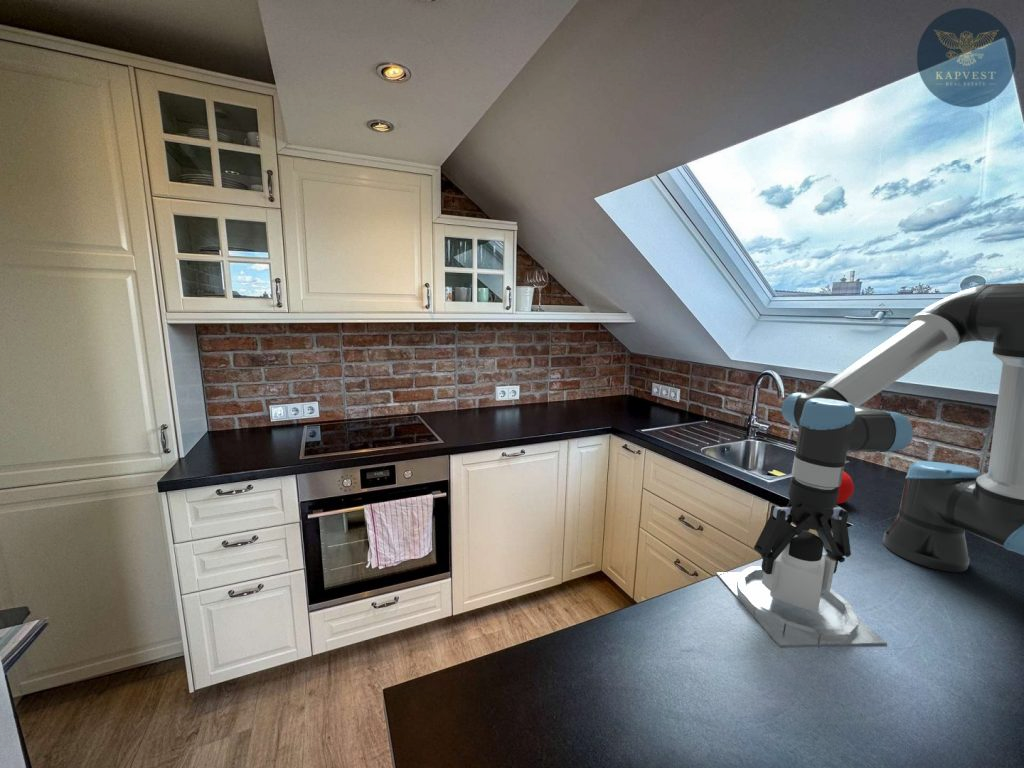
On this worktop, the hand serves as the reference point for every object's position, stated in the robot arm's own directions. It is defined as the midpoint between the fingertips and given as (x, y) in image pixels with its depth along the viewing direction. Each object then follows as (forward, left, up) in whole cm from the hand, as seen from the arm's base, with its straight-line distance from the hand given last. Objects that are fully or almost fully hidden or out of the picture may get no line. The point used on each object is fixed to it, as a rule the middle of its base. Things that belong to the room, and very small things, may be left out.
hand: (795, 587), depth 82 cm
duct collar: (0, 0, -4) cm, 4 cm away
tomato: (-46, -46, -4) cm, 65 cm away
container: (0, 0, -2) cm, 2 cm away
